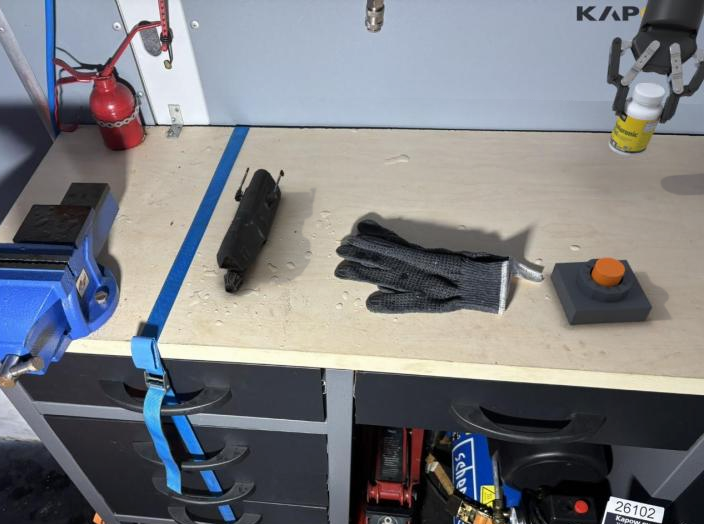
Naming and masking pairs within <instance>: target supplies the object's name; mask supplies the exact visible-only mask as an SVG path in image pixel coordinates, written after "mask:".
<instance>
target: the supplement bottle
mask: <svg viewBox="0 0 704 524" xmlns="http://www.w3.org/2000/svg"><path fill="white" fill-rule="evenodd" d="M665 95H666V89H665V88H664V87H663V86H662V85H660V84H657V83H654V82H649V81H648V82H645V81H644V82H640V83H637V84H636V85H635V87H634V89H633V92H632V95H631V96H630V97H628V98H626V102H625V105H624V108H623V111H622V114H621V115H620V116H617V119H616V121H615V124H614V127H613V129H612V131H611V134H610V137H609V140H608V146H609V148H610V150H612V151H613V152H614V153H616V154H618V155H621V156H624V157H638V156H641V155H642V154H644V153H645V152H646V150H647V148H648V146H649V144H650V142H651V140H652V138H653V135H654V132H655V130H656V128H657V126H658V124H659V120H660V117H661V115H662V112H663V108H664V105H663V104H662V101H663V100H664V97H665Z"/></svg>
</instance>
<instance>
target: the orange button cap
mask: <svg viewBox="0 0 704 524" xmlns="http://www.w3.org/2000/svg"><path fill="white" fill-rule="evenodd" d="M600 258H601V257H600ZM600 258H598V259H599V260H598V261H597V262H596V264H595V267H594V269H593V271H592V274H591V275H592V278H593V280H594V281H596V282H597V283H598V284H600V285H603V286H606V287H614V286H616V285H618V284H619V282H620V280H621V278H622V276H623V274H624V272H625V267H624V265H623V264H622V263H621V262H620V261H618V260H619V259H616V258H613V257H602V258H601V259H600Z"/></svg>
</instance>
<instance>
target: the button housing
mask: <svg viewBox="0 0 704 524" xmlns="http://www.w3.org/2000/svg"><path fill="white" fill-rule="evenodd" d="M599 259H601V257H599V258H591V259H588V260H587V261H573V262H571V261H569V262H555V263H554V265H553V268H552V272H551V274H550V277H549V278H550V280H551V283H552V285H553V288H554V290H555V292H556V295H557V297H558V300H559V303H560V304H561V307H562V309H563V312H564V313H565V314H564V315H565V317H566V319H567V322H568V324H569V326H577V325H579V326H580V325H595V324H596V325H601V324H622V323H641V322H645V321H646V320H647V319H648V316H649V314H650V313H651V311H652V310H653V305H652V304H651V301H650V300H649V298H648V296H647V295H646V293H645V291H644V289H643V287H642V285H641V284H640V282H639V280H638V278H637V277H636V274H635V273H634V271H633V269H632V266H631V265H630V263H629V262H628V260H627V259H617V260H618V261H620V262H621V263H622V264H623V265H624V267H625V272H624V274H623V276H622V278H621V280H620V282H619V284H618V285H616V286H614V287H606V286H603V285H600V284H598V283H597V282H596V281H594V280H593V278H592V275H591V274H592V271H593V269H594V267H595V264H596V262H597V261H598V260H599Z"/></svg>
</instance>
